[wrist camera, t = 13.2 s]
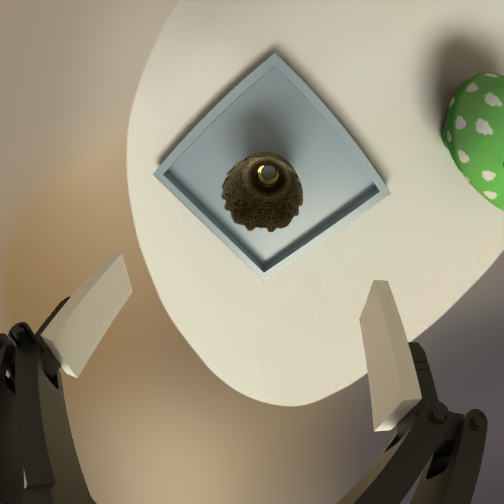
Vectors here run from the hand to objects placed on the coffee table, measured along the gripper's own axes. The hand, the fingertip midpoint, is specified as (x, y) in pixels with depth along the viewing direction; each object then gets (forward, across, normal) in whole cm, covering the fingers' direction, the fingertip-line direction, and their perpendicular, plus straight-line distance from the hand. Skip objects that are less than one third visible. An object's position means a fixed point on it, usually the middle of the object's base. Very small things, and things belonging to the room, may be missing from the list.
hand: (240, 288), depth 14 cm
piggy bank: (+22, +27, +10) cm, 36 cm away
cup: (+21, 0, 0) cm, 21 cm away
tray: (+21, 0, 0) cm, 21 cm away
